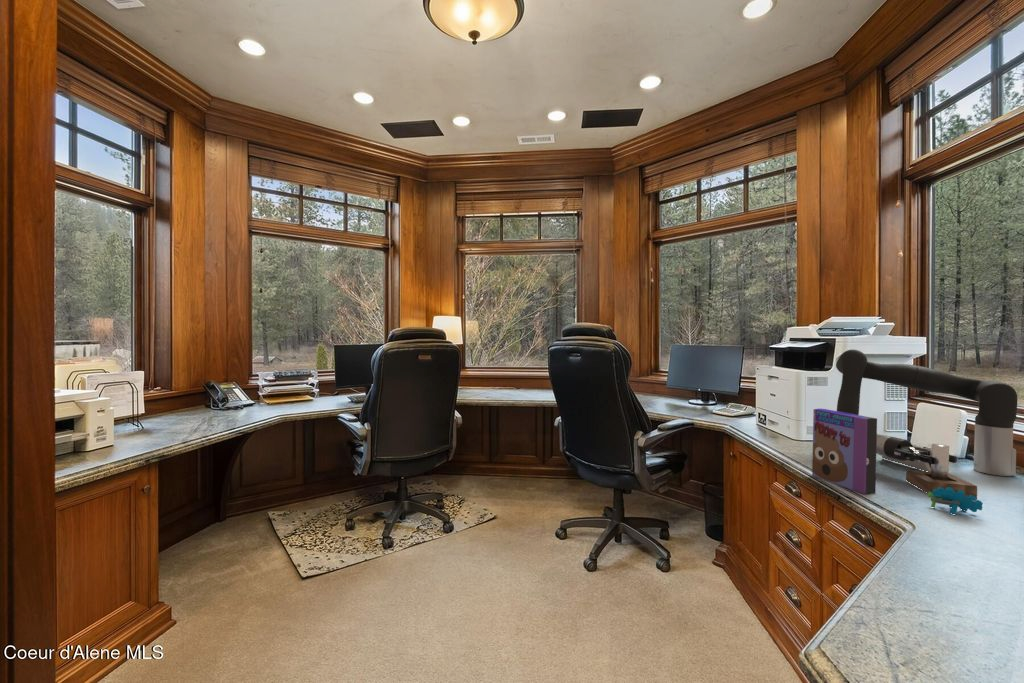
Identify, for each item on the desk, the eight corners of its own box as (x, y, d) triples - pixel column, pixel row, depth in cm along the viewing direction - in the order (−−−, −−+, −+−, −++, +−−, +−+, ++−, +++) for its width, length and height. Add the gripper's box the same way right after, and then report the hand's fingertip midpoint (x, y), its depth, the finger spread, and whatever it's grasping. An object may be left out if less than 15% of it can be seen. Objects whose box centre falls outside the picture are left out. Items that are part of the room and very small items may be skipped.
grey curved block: (940, 472, 154) (934, 447, 153) (931, 477, 153) (924, 452, 152) (892, 458, 170) (885, 436, 169) (882, 463, 169) (876, 440, 169)
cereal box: (812, 476, 149) (813, 408, 149) (822, 475, 150) (824, 408, 150) (863, 494, 132) (865, 418, 132) (875, 493, 133) (877, 417, 133)
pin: (942, 486, 138) (944, 444, 137) (951, 491, 134) (952, 447, 134) (927, 485, 139) (928, 443, 139) (935, 489, 135) (936, 446, 135)
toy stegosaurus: (990, 511, 116) (974, 488, 114) (986, 530, 114) (969, 507, 112) (937, 502, 126) (921, 481, 124) (932, 519, 124) (916, 498, 122)
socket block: (950, 485, 140) (950, 473, 140) (977, 498, 129) (977, 486, 129) (905, 481, 144) (905, 469, 144) (927, 494, 133) (928, 481, 133)
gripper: (875, 437, 149) (929, 450, 133) (906, 435, 152) (962, 447, 136) (874, 458, 149) (928, 473, 133) (905, 456, 152) (962, 470, 136)
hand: (945, 460), depth 135 cm, fingers open, 8 cm apart
